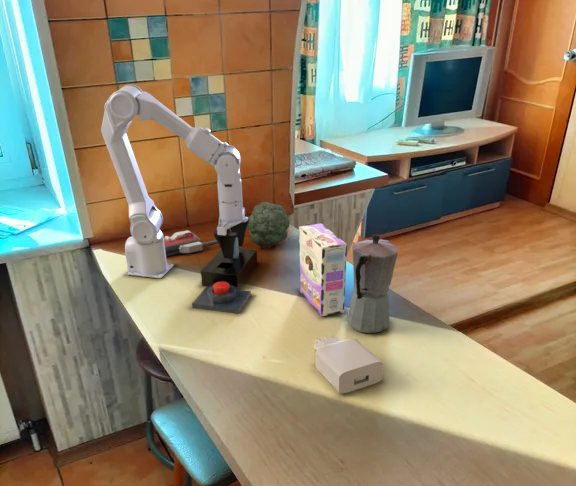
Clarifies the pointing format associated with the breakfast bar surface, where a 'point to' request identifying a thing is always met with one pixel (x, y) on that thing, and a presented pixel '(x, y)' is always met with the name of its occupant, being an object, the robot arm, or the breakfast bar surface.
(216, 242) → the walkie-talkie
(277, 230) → the vegetable
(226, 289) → the power button
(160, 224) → the robot arm
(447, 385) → the breakfast bar surface
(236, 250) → the light blue tube
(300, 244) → the candy box
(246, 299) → the grey button base
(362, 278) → the moka pot
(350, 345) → the charger
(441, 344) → the breakfast bar surface
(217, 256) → the holder
